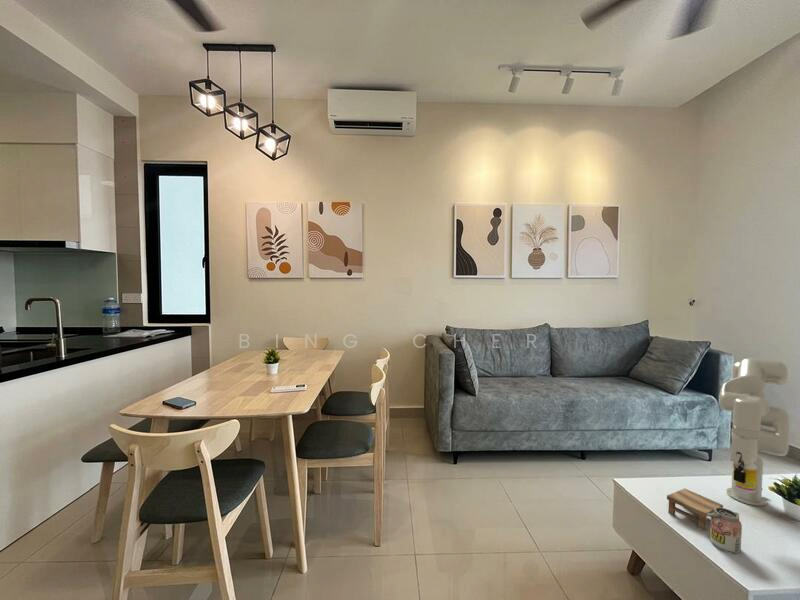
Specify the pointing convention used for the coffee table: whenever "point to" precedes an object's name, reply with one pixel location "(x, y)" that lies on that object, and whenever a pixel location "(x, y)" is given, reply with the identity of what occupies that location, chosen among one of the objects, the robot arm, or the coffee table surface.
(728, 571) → the coffee table surface
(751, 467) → the supplement bottle
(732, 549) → the pink labeled can
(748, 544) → the coffee table surface
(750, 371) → the robot arm
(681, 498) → the footstool
